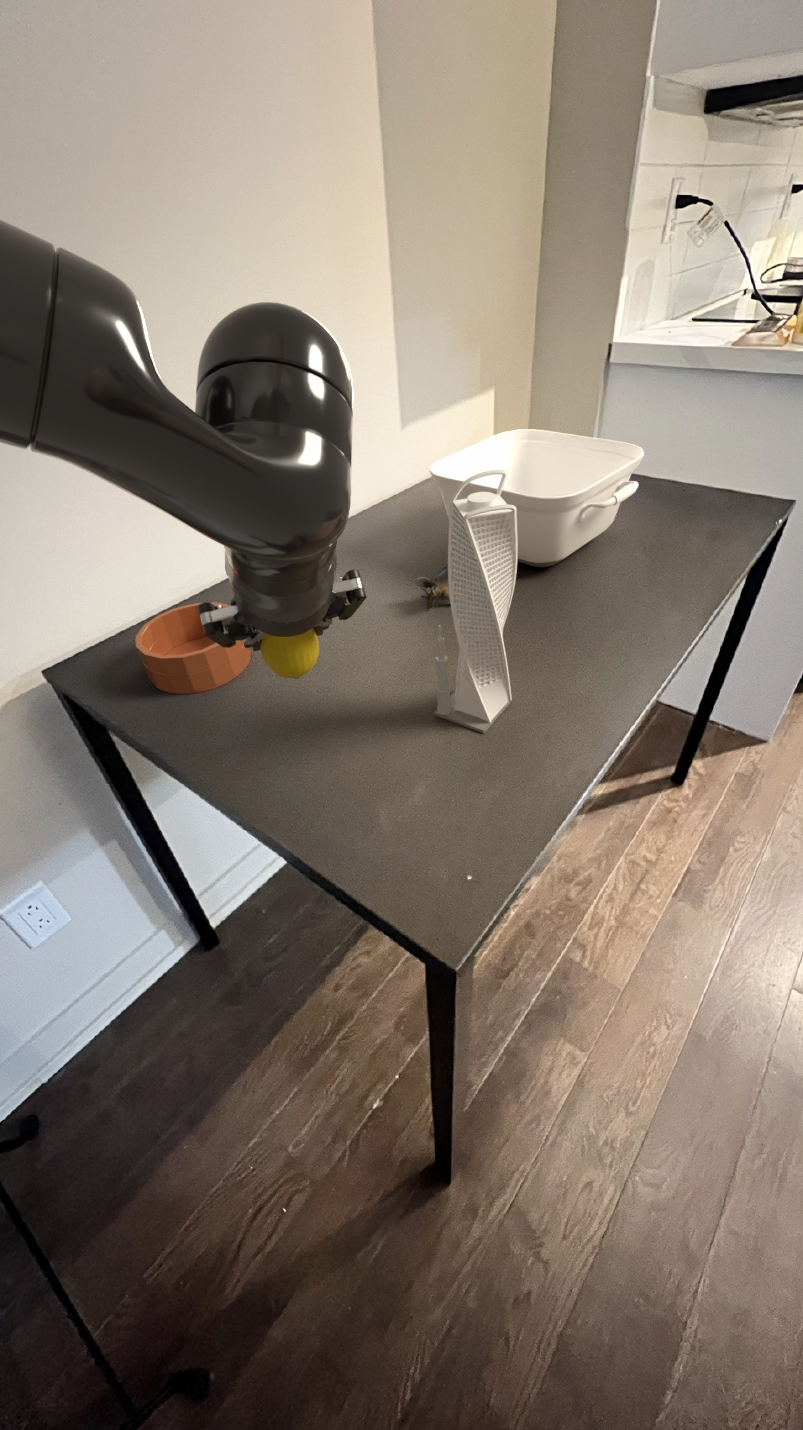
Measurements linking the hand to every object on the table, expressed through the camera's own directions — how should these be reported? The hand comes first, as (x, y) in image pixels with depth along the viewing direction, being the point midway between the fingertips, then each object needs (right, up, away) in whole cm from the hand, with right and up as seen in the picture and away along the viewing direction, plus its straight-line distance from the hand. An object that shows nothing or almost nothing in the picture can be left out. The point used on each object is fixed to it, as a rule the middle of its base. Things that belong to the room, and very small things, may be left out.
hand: (285, 633), depth 61 cm
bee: (+19, +10, +38) cm, 44 cm away
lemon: (+1, -4, +1) cm, 5 cm away
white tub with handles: (+35, +23, +52) cm, 67 cm away
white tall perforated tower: (+21, -7, +17) cm, 28 cm away
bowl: (-18, 0, +30) cm, 35 cm away
